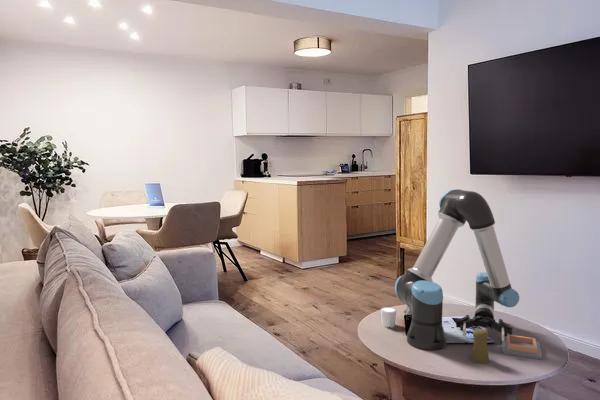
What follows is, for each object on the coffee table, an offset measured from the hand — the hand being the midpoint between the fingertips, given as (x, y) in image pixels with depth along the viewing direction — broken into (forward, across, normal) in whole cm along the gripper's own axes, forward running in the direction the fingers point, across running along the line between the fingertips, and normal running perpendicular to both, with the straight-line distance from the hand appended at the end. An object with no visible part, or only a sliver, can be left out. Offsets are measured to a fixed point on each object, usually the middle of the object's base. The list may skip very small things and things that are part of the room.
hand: (483, 334), depth 165 cm
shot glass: (-13, +39, -7) cm, 41 cm away
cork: (+7, +1, -7) cm, 10 cm away
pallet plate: (-7, -13, -6) cm, 17 cm away
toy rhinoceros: (-27, +28, -7) cm, 39 cm away
